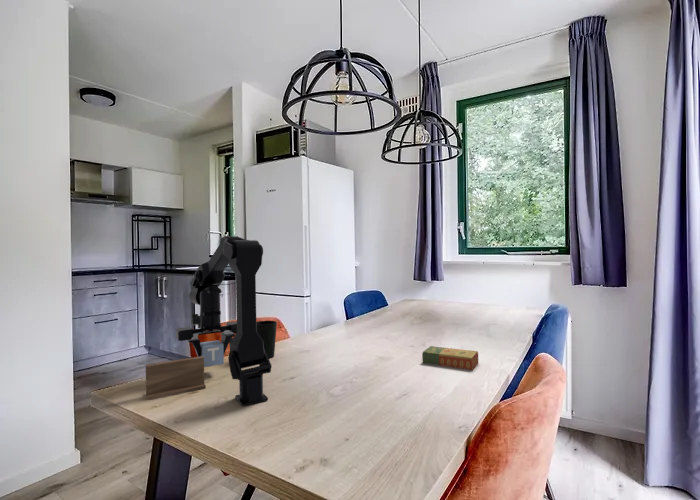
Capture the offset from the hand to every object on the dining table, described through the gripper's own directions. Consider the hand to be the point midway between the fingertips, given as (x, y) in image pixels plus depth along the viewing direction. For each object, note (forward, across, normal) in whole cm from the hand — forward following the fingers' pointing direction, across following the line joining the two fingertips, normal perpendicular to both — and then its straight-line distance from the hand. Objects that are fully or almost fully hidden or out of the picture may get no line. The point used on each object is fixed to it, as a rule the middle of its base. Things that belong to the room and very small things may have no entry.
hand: (211, 359), depth 114 cm
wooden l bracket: (+4, +11, +9) cm, 15 cm away
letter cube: (+1, 0, 0) cm, 1 cm away
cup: (+5, -20, -8) cm, 22 cm away
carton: (+5, -67, +33) cm, 75 cm away
